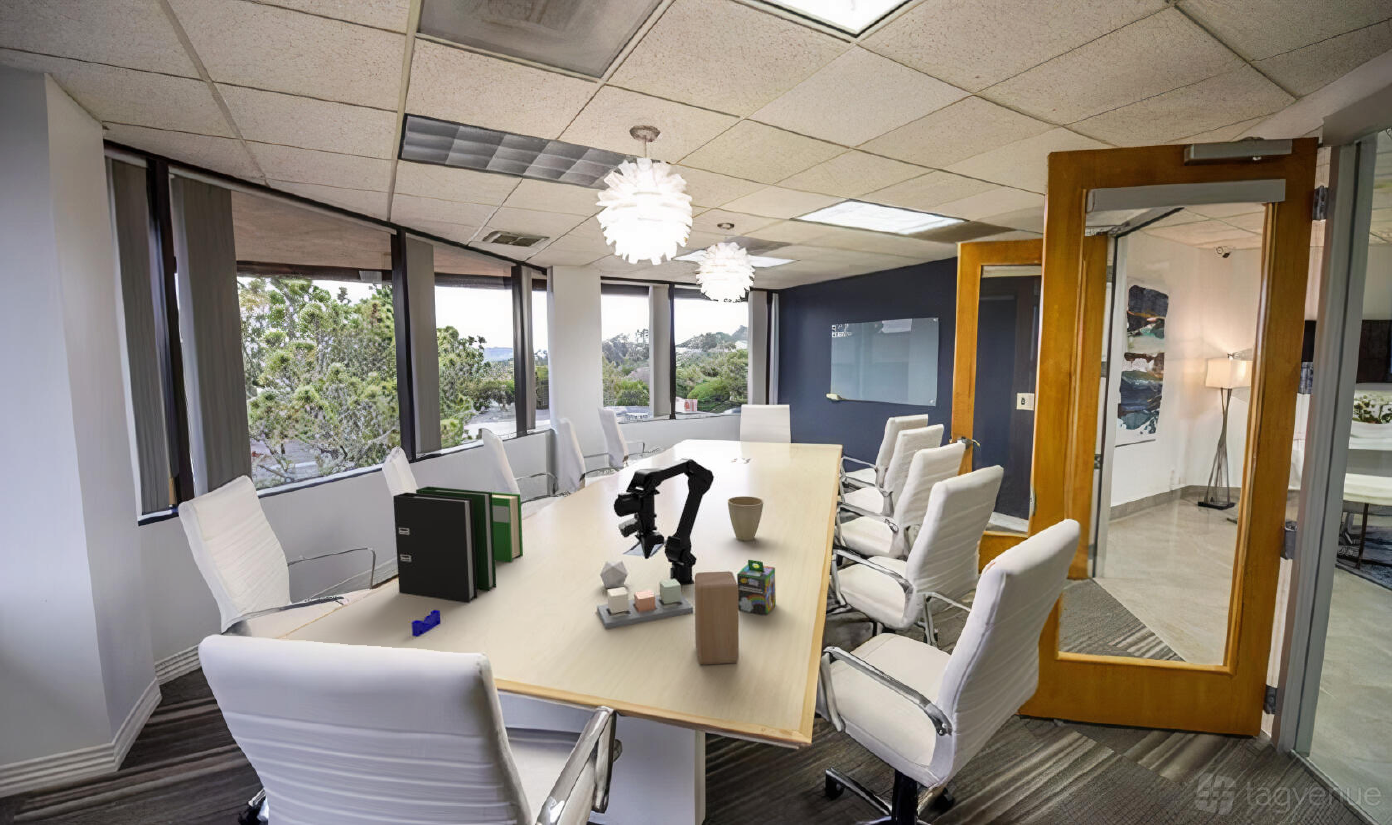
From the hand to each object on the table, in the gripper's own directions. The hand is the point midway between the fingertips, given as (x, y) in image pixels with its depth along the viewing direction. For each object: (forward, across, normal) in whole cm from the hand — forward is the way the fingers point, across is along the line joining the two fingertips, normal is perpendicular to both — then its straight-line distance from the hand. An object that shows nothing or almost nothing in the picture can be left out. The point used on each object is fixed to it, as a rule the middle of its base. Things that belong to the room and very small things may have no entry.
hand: (646, 558), depth 174 cm
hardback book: (+12, -56, -43) cm, 72 cm away
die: (+12, -11, -8) cm, 18 cm away
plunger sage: (+10, +11, +4) cm, 15 cm away
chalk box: (+12, +21, +28) cm, 37 cm away
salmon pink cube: (+12, +11, -4) cm, 16 cm away
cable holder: (+12, -3, -64) cm, 65 cm away
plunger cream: (+9, +11, -12) cm, 19 cm away
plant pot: (+12, -38, +54) cm, 67 cm away
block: (+12, +41, +6) cm, 43 cm away
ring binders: (+12, -29, -59) cm, 67 cm away
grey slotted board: (+12, +11, -4) cm, 17 cm away
